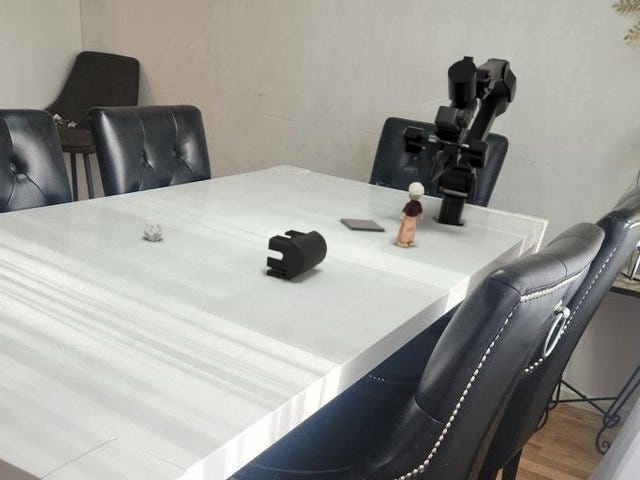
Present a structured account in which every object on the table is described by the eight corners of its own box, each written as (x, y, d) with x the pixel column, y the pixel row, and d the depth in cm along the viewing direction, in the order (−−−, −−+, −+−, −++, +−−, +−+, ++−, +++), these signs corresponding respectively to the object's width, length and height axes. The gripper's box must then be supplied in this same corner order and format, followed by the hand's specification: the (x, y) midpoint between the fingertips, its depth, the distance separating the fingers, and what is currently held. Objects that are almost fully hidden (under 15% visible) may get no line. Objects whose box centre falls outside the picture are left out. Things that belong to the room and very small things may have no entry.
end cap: (300, 285, 110) (306, 244, 106) (264, 275, 112) (268, 235, 108) (324, 272, 117) (330, 234, 114) (289, 263, 120) (294, 225, 116)
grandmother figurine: (403, 240, 144) (417, 179, 137) (419, 244, 142) (433, 182, 135) (387, 245, 139) (400, 182, 132) (403, 250, 137) (417, 186, 130)
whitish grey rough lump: (139, 238, 122) (139, 221, 120) (155, 236, 124) (155, 219, 123) (151, 243, 120) (151, 226, 119) (166, 240, 123) (167, 224, 121)
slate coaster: (340, 220, 153) (341, 218, 153) (372, 222, 155) (372, 220, 155) (351, 230, 147) (352, 227, 146) (384, 231, 149) (384, 229, 148)
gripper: (415, 83, 137) (386, 145, 136) (502, 98, 131) (473, 164, 130) (417, 122, 148) (391, 180, 146) (498, 138, 142) (471, 199, 140)
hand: (429, 180), depth 140 cm, fingers closed
